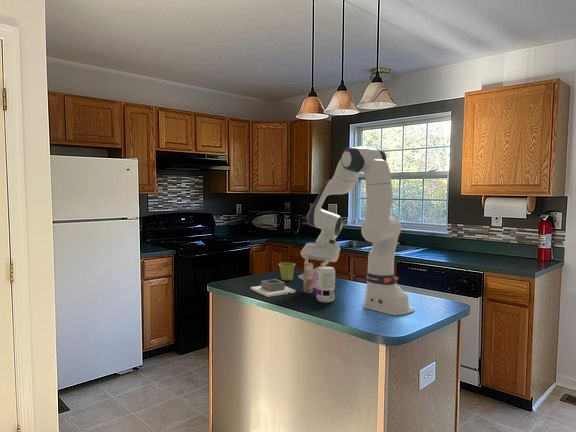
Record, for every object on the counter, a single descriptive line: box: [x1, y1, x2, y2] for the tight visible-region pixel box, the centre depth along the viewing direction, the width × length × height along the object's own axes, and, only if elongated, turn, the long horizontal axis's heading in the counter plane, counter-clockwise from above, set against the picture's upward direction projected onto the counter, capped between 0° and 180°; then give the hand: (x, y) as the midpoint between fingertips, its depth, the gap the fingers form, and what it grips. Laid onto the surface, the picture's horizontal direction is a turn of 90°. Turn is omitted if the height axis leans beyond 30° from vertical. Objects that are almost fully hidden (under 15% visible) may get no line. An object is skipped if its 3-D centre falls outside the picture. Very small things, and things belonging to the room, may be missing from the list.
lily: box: [297, 266, 320, 289], centre depth 216 cm, size 12×12×10 cm
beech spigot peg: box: [303, 262, 314, 294], centre depth 203 cm, size 4×4×14 cm
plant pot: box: [278, 262, 296, 281], centre depth 230 cm, size 9×9×9 cm
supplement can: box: [315, 265, 336, 303], centre depth 189 cm, size 8×8×15 cm
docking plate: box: [250, 278, 296, 298], centre depth 204 cm, size 16×16×5 cm
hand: (313, 265), depth 207 cm, fingers open, 8 cm apart
